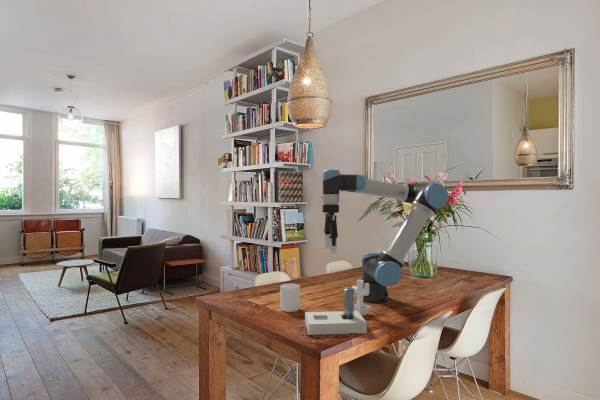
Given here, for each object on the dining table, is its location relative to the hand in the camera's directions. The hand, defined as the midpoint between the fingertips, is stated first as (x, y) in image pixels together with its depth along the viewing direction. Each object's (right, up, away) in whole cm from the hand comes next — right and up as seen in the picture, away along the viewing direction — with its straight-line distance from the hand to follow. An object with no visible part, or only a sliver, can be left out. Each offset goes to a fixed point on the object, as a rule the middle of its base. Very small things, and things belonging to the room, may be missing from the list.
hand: (330, 250), depth 170 cm
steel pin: (+5, -26, -22) cm, 34 cm away
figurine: (+12, -27, -6) cm, 30 cm away
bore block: (0, -27, -22) cm, 35 cm away
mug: (-19, -27, +1) cm, 33 cm away
